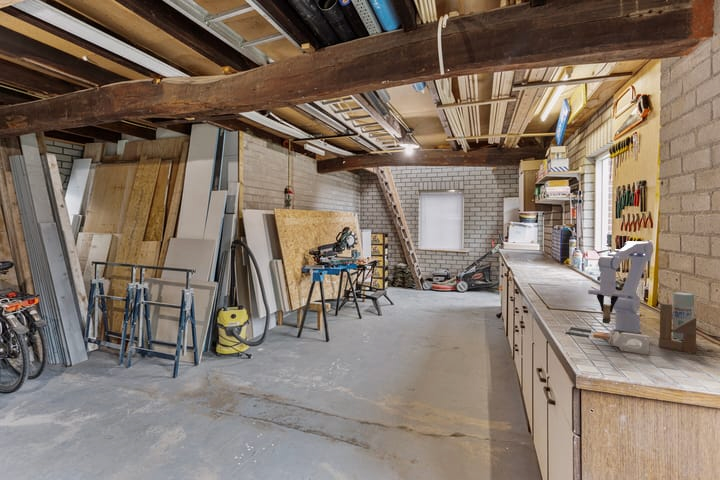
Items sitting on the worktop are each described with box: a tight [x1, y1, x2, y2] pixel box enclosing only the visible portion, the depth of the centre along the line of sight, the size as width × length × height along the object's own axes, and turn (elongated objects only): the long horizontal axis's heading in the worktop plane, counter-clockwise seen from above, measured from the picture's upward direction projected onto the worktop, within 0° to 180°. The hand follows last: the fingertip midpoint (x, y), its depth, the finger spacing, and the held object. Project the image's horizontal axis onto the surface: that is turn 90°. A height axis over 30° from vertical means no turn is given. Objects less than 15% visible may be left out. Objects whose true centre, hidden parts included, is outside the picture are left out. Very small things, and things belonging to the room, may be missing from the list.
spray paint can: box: [672, 291, 695, 341], centre depth 147 cm, size 6×6×20 cm
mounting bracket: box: [608, 331, 651, 355], centre depth 135 cm, size 12×6×11 cm, turn 58°
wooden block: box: [658, 302, 697, 354], centre depth 135 cm, size 4×11×18 cm, turn 47°
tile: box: [593, 330, 612, 340], centre depth 152 cm, size 6×6×2 cm
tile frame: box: [565, 325, 592, 338], centre depth 158 cm, size 9×11×1 cm
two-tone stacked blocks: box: [601, 303, 611, 325], centre depth 155 cm, size 2×7×8 cm, turn 139°
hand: (606, 311), depth 154 cm, fingers closed on two-tone stacked blocks, 2 cm apart
